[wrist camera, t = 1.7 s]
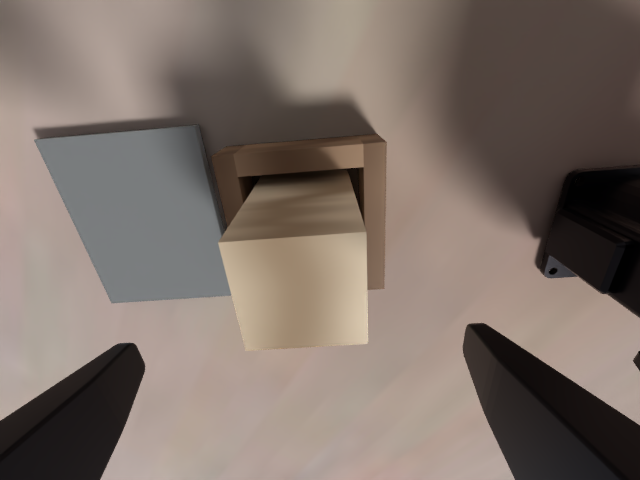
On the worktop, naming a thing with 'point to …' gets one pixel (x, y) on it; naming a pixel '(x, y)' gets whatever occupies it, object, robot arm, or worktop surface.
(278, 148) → the walnut pocket
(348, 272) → the birch block
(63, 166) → the slate mat
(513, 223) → the worktop surface
